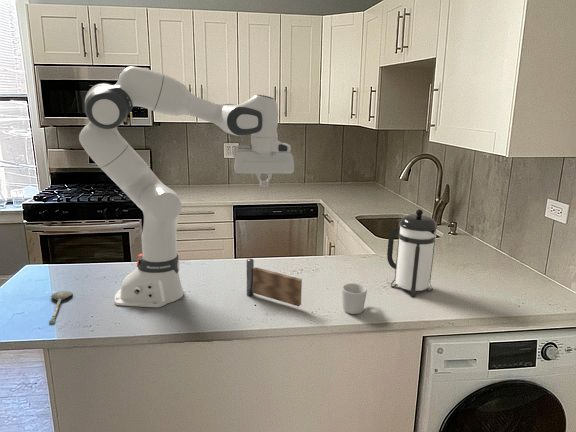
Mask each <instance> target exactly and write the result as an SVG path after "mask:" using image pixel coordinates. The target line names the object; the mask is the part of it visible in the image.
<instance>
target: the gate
mask: <svg viewBox="0 0 576 432" xmlns="http://www.w3.org/2000/svg"><path fill="white" fill-rule="evenodd" d="M302 285H303V279H302V278H298V277H295V276H291V275H287V274H283V273H280V272H275V271H271V270H268V269H263V268H259V267H254V268H253V293H254V294H255V295H259V296H261V297H264V298H265V297H266V298H269V299H273V300H275V301H279V302H283V303H286V304H289V305H291V306H296V307H300V306H301V305H302V291H303V290H302Z"/></svg>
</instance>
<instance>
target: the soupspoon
mask: <svg viewBox="0 0 576 432" xmlns="http://www.w3.org/2000/svg"><path fill="white" fill-rule="evenodd" d="M72 295H73V292H71V291H69V290H68V291H67V290H61V291H57V292H54V293H52V294H51V295H50V298H51V299H54V300H57V302H56V306H55V308H54V312H53V315H52V318H50V320H49V321H48V323H49V325H50V324H56V317H57V316H56V315H57V313H58V310H59V307H60V304H61V302H62V301H63V300H65V299H67V298H69V297H71V296H72Z"/></svg>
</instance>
